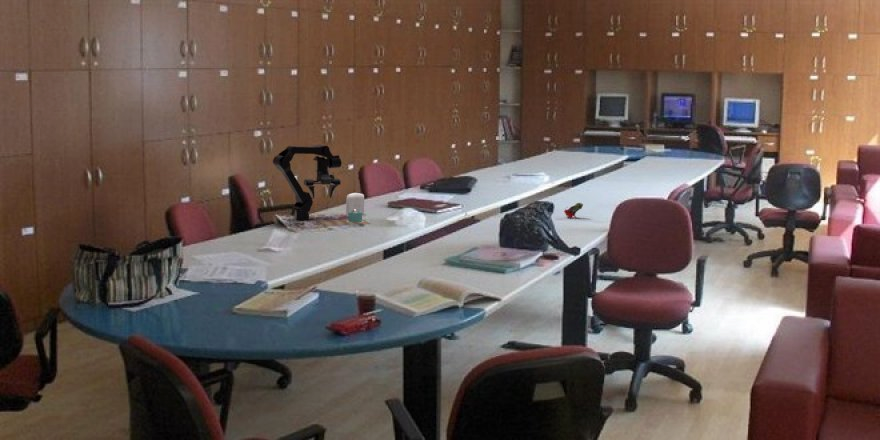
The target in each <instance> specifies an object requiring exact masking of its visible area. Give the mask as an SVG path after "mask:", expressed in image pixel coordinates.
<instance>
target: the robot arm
mask: <svg viewBox="0 0 880 440" xmlns="http://www.w3.org/2000/svg"><path fill="white" fill-rule="evenodd" d="M299 154H301V155H305V154H306V155H315V157H314V158H313V159H312V160H313V161H316V169H315V170H316V171H315V172H316V177H315V180H314V179H312V178H305V179H303V185H304V186H306V187H307V188H308V190H309V191H310V192H308V191H304V189H303V188H302V186H301V184H300V183H299V181H298V180H297V178H296V176H295V174H294V172H293V171H292V169H291V163H290V162H291V161H293V158H294V156H295V155H299ZM272 164H273V165H274V166H275V168H276V169H277V170H278V171H280V173H282V175H283V176H284V178H285V180H286V181H287V184H289V186H290V188H291V190H292V191H293V193H294V195H295V196H294V197H295V201H296V202H295V203H294V204H293V205H292V209H293V211H294V220H295V219H296V220H297V221H300V222H302V221H303V222H305V221H310V211H311V208H312V206H313V203H314V201H313V199H315V185H320V184H321V185H329V199H331V198H332V197H333V193H334V191H335V189H336V188H337V187H338V186H340V185H341V182H342V181H341V179H339V178H337V177H335V175H334V174H330V173H329V169H338V168H341V167H342V164H343V163H342V160H341V157H340V155H339V154H335V155H333V153H332V152H331V150H330V147H329V146H328V145H325V144H315V145H311V146H303V145H302V146H301V145H300V146H299V145H298V146H297V145H289V146H287V147H286V148H285V149H284V150H282V151H280V152H279V153H278V154H277V155H275V156H274V158H273V160H272ZM328 168H329V169H328ZM296 220H295V221H296ZM297 221H296V222H297Z"/></svg>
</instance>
